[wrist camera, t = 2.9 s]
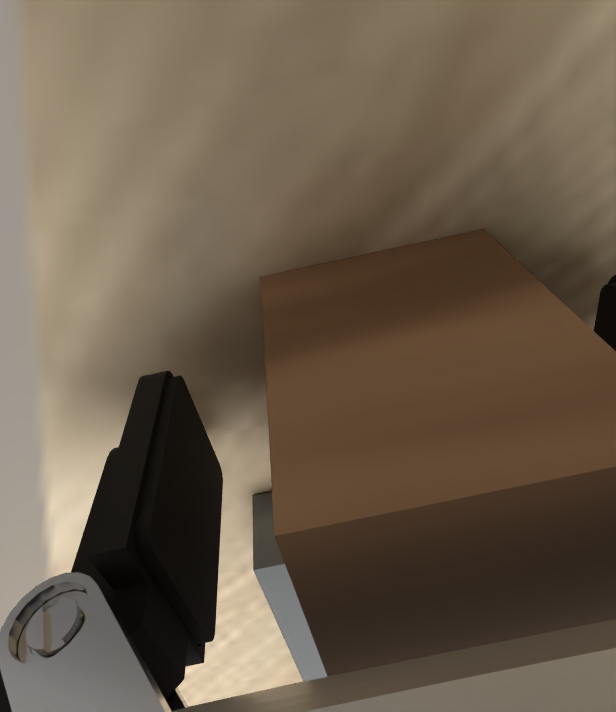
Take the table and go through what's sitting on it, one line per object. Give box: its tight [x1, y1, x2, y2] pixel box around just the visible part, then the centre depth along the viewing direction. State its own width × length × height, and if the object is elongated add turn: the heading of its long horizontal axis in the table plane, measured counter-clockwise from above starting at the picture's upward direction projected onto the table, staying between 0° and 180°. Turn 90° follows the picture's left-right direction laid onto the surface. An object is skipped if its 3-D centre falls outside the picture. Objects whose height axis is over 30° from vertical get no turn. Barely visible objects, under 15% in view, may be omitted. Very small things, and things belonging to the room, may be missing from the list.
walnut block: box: [261, 229, 616, 676], centre depth 9 cm, size 4×4×6 cm
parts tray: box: [253, 492, 328, 681], centre depth 16 cm, size 14×16×2 cm
